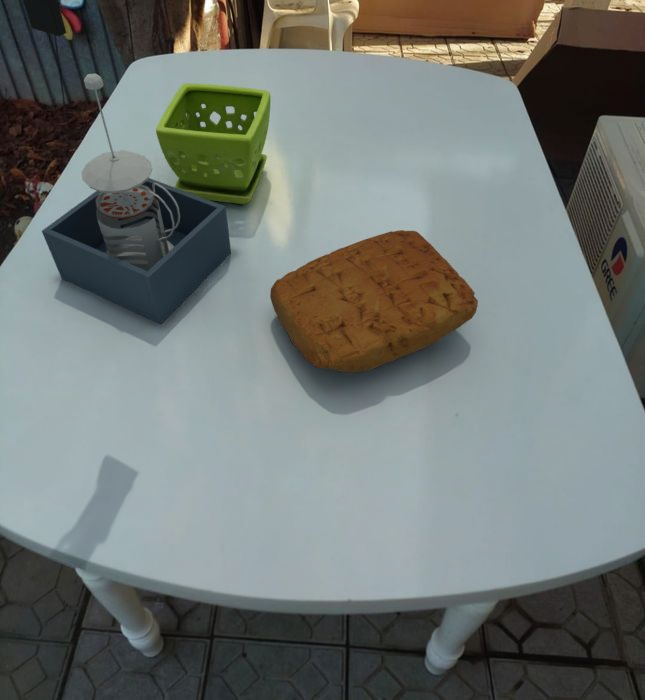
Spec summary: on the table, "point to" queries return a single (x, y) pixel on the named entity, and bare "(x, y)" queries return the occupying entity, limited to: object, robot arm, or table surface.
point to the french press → (127, 202)
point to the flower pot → (216, 140)
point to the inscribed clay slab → (372, 302)
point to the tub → (133, 282)
